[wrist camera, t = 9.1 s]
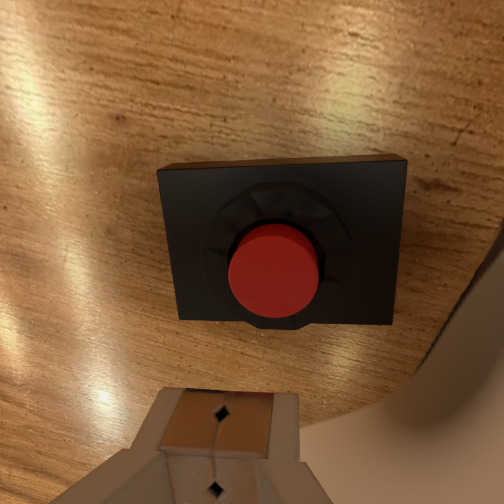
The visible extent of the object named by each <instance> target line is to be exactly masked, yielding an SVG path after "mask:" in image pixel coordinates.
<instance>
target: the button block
mask: <svg viewBox="0 0 504 504" xmlns="http://www.w3.org/2000/svg"><path fill="white" fill-rule="evenodd" d="M407 163H408V161H407V160H406V159H404V158H403V157H401V156H399V155H397V154H378V155H355V156H332V157H308V158H285V159H262V160H239V161H215V162H192V163H173V164H170V165H168V166H165V167H163V168H160V169H158V170H157V177H158V183H159V190H160V197H161V203H162V210H163V217H164V223H165V230H166V236H167V243H168V250H169V256H170V263H171V269H172V276H173V283H174V289H175V296H176V303H177V309H178V316H179V320H205V321H243V322H247V323H249V324H251V325H253V326H255V327H257V328H260V329H275V330H296V329H297V330H298V329H300V328H302V327H304V326H307V325H309V324H311V323H319V324H358V325H392V324H393V315H394V304H395V293H396V282H397V271H398V261H399V250H400V239H401V228H402V217H403V206H404V195H405V185H406V174H407ZM272 223H277V224H285V225H288V226H291V227H294V228H296V229H297V230H299V231H301V232H302V233H303V234H304V235H305V236H306V237H307V238H308V239H309V240H310V241H311V243H312V244H313V246H314V248H315V251H316V254H317V262H318V278H319V279H318V287H317V290H316V293H315V295H314V297H313V299H312V300H311V301H310V303H309V304H308V305H307V306H306V307H304V308H303V309H302V310H300V311H299V312H297V313H295V314H293V315H290V316H286V317H280V318H271V317H264V316H261V315H257V314H255V313H253V312H251V311H249V310H248V309H246V308H245V307H244V306H243V305H242V304H241V303H240V302H239V301H238V300H237V299H236V297H235V296H234V294H233V292H232V290H231V288H230V284H229V279H228V270H229V265H230V262H231V259H232V257H233V255H234V253H235V251H236V249H237V247H238V245H239V243H240V242H241V240H242V239H243V238H244V236H245V235H246V234H247V233H249V232H250V231H251V230H253V229H255V228H257V227H259V226H262V225H265V224H272Z"/></svg>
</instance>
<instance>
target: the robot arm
mask: <svg viewBox="0 0 504 504" xmlns="http://www.w3.org/2000/svg"><path fill="white" fill-rule="evenodd" d="M299 441H300V440H299V395H298V393H278V392H275V393H269V392H244V391H222V390H208V389H195V388H174V387H164V388H163V389H161V390H160V391H159V393H158V395H157V397H156V399H155V401H154V402H153V404H152V406H151V408H150V410H149V412H148V414H147V416H146V418H145V420H144V422H143V424H142V426H141V428H140V430H139V432H138V433H137V435H136V437H135V439H134V441H133V443H132V445H131V447H130V449H121V450H120V451H119V452H117V453H116V454H114V455H113V456H112V457H110V458H109V459H108V460H106V461H105V462H104V463H102V464H101V465H100V466H98V467H97V468H96V469H94V470H93V471H92V472H90V473H89V474H88V475H86V476H85V477H83V478H82V479H81V480H79V481H78V482H77V483H75V484H74V485H73V486H71V487H70V488H69V489H67V490H66V491H65V492H63V493H62V494H61V495H59V496H58V497H57V498H55V499H54V500H52V501H51V502H50V503H48V504H333V503H332V501H331V500H330V498H329V497H328V495H327V494H326V492H325V491H324V489H323V488H322V486H321V485H320V483H319V482H318V480H317V479H316V477H315V476H314V474H313V473H312V471H311V470H310V468H309V467H308V465H307V464H306V462H300V442H299Z"/></svg>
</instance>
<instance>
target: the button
mask: <svg viewBox="0 0 504 504" xmlns="http://www.w3.org/2000/svg"><path fill="white" fill-rule="evenodd" d="M228 279H229V284H230V288H231V290H232V292H233V294H234V296H235V297H236V299H237V300H238V301H239V302H240V303H241V304H242V305H243V306H244V307H245V308H246V309H248V310H249V311H251V312H253V313H255V314H257V315H261V316H264V317H271V318H280V317H286V316H290V315H293V314H295V313H297V312H299V311H300V310H302V309H303V308H304V307H306V306H307V305H308V304H309V303H310V301H311V300H312V299H313V297H314V295H315V293H316V290H317V287H318V279H319V278H318V262H317V254H316V251H315V248H314V246H313V244H312V243H311V241H310V240H309V239H308V238H307V237H306V236H305V235H304V234H303V233H302V232H301V231H299V230H297V229H296V228H294V227H291V226H288V225H285V224H277V223H272V224H265V225H262V226H259V227H257V228H255V229H253V230H251V231H250V232H249V233H247V234H246V235H245V236H244V238H243V239H242V240H241V242H240V243H239V245H238V247H237V249H236V251H235V253H234V255H233V257H232V259H231V262H230V265H229V270H228Z"/></svg>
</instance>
